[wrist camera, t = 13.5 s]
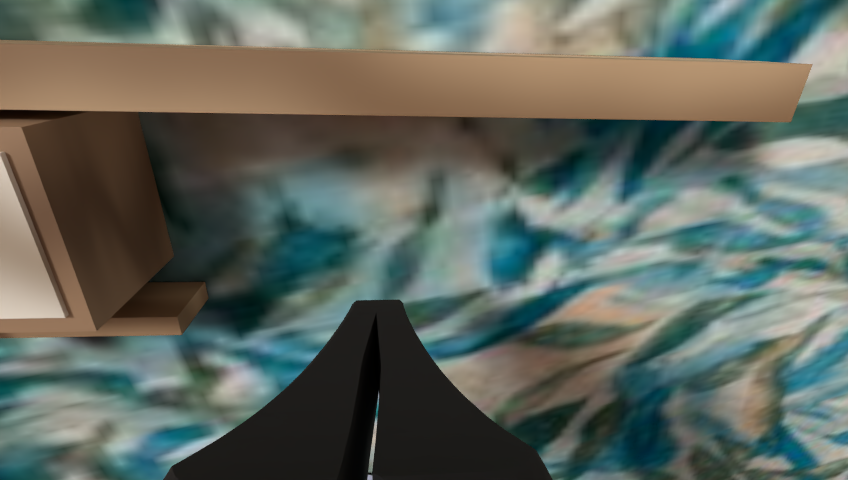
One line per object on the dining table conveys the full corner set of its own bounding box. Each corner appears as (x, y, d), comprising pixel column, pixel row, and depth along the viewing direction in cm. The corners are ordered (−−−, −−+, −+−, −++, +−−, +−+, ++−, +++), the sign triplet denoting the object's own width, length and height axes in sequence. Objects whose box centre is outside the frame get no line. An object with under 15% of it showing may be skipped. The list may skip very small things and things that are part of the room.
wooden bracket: (639, 292, 19) (701, 356, 15) (-5, 300, 17) (-120, 374, 14) (705, 58, 15) (812, 64, 11) (-130, 36, 13) (-346, 34, 9)
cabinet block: (175, 255, 17) (93, 334, 13) (71, 256, 17) (-51, 336, 12) (136, 101, 15) (16, 128, 10) (14, 99, 14) (-168, 125, 10)
